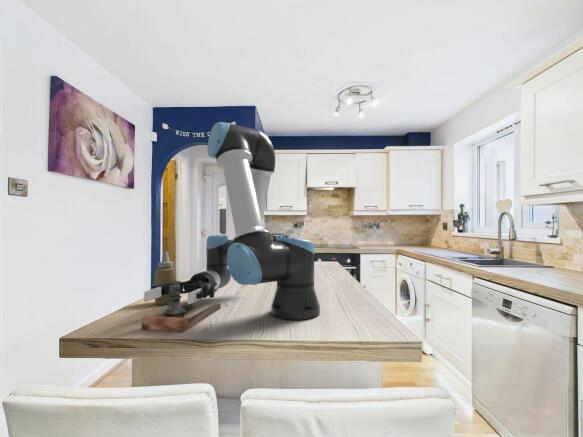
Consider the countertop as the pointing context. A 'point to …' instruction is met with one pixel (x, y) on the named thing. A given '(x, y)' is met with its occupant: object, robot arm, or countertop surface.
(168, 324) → the track
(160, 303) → the squeeze bottle
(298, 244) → the robot arm
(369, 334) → the countertop surface
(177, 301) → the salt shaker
